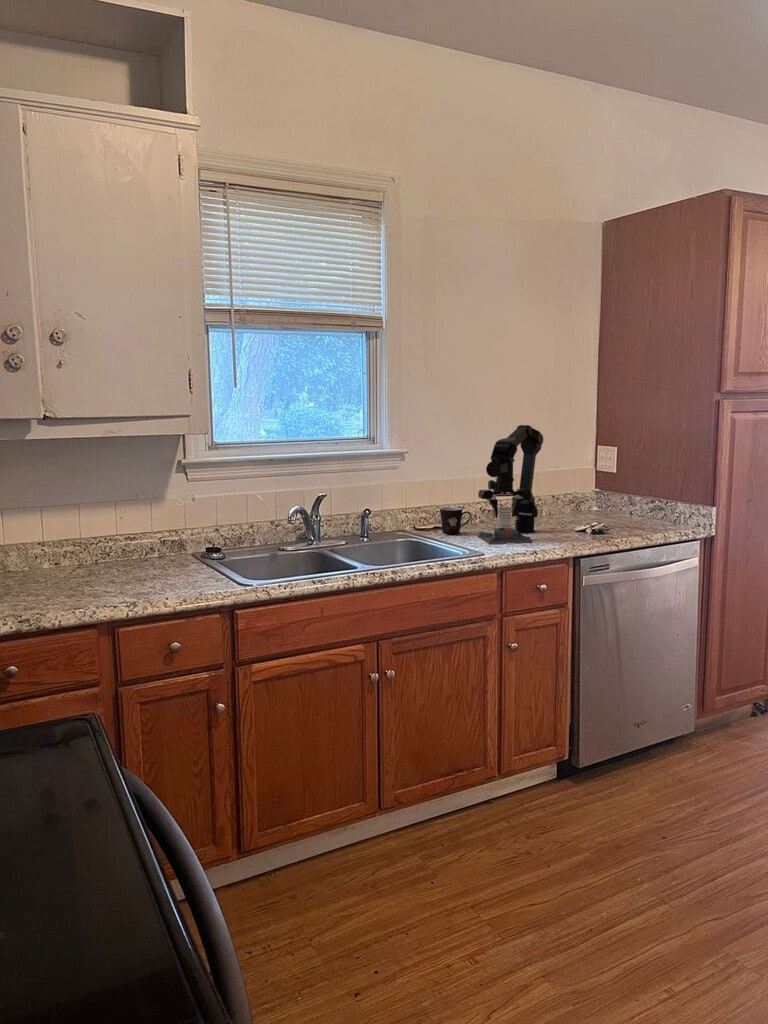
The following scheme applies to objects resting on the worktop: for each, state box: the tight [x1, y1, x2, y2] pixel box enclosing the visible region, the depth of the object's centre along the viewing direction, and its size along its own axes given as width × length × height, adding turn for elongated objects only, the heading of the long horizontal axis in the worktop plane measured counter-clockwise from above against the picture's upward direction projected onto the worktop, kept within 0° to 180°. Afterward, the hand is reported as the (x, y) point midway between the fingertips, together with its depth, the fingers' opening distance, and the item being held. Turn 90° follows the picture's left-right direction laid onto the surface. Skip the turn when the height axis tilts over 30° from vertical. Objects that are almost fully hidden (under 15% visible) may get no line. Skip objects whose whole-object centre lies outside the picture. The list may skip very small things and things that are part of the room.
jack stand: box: [477, 527, 533, 545], centre depth 288 cm, size 16×16×5 cm
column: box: [497, 506, 512, 528], centre depth 287 cm, size 4×4×7 cm
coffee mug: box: [439, 506, 473, 536], centre depth 300 cm, size 12×9×10 cm
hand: (504, 517), depth 287 cm, fingers open, 6 cm apart
